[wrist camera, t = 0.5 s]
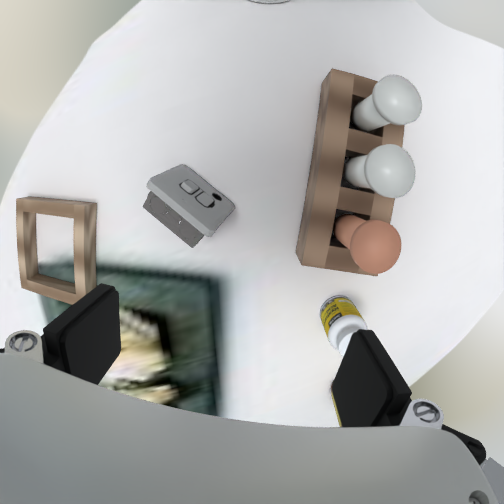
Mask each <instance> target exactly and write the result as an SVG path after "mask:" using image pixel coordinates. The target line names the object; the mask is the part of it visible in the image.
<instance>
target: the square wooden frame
mask: <svg viewBox="0 0 504 504" xmlns="http://www.w3.org/2000/svg"><path fill="white" fill-rule="evenodd" d="M36 213H39V214H46V215H53V216H61V217H68V218H74V271H75V284H74V283H70V282H67V281H63V280H59V279H56V278H52V277H48V276H45V275H41V274H38V263H37V248H36ZM96 213H97V203H91V202H81V201H72V200H62V199H51V198H40V197H23V198H18V199H16V227H17V248H18V261H19V271H20V279H21V287H22V288H24V289H26V290H29V291H32V292H35V293H38V294H41V295H44V296H47V297H50V298H53V299H56V300H59V301H63V302H66V303H69V304H72V305H73V304H74V303H76V302H77V301H78V300H80V299H81V298H82V297H84V296H85V295H86V294H87V293H89V292H90V291H91V290H93V289H94V288H95V287H96Z"/></svg>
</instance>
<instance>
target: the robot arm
mask: <svg viewBox="0 0 504 504" xmlns="http://www.w3.org/2000/svg"><path fill="white" fill-rule="evenodd" d="M250 1H254V2H259V3H281V2H285V1H289V0H250ZM43 332H44V334H43V335H42V336H41V337H40V336H39V335H38V334H37V333H35V332H33V331H29V330H23V331H18V332H15V333H13V334H11V335H10V336H9V337H8V338H7V339H6V342H5V348H3V349H0V504H504V467H502V466H501V465H500V464H498V463H497V462H496V461H494V460H493V459H492V458H489V459H488V460H486V459H485V458H486V451H485V448H484V446H483V445H482V443H481V442H480V441H478V440H476V439H474V438H472V437H469V436H467V435H465V434H463V433H460V432H458V431H456V430H454V429H452V428H450V427H448V426H445V425H443V424H442V423H443V419H444V415H443V412H442V410H441V409H440V407H439V406H438V405H436V404H435V403H433V402H432V401H429V400H426V399H415V400H413V401H412V400H411V399H410V396H411V394H412V392H411V390H410V389H409V387H408V385H407V384H406V382H405V380H404V379H403V377H402V375H401V374H400V372H399V371H398V369H397V367H396V366H395V364H394V363H393V361H392V359H391V358H390V356H389V355H388V353H387V352H386V350H385V348H384V347H383V345H382V344H381V342H380V341H379V339H378V338H377V336H376V335H375V333H374V332H373V331H372V330H364V329H358V330H357V332H354V333H353V334H352V336H351V339H350V341H349V344H348V347H347V349H346V352H345V354H344V357H343V360H342V362H341V365H340V367H339V370H338V372H337V374H336V377H335V379H334V382H333V384H332V393H333V397H334V400H335V404H336V407H337V411H338V414H339V418H340V421H341V425H342V427H305V426H288V425H276V424H266V423H257V422H248V421H241V420H234V419H228V418H222V417H216V416H210V415H205V414H200V413H195V412H190V411H185V410H181V409H176V408H172V407H168V406H164V405H160V404H157V403H153V402H149V401H146V400H142V399H139V398H135V397H132V396H129V395H126V394H122V393H119V392H116V391H113V390H110V389H107V388H104V387H102V386H99V385H98V384H99V382H100V381H101V380H102V378H103V377H104V375H105V374H106V372H107V371H108V370H109V368H110V367H111V365H112V364H113V363H114V361H115V360H116V358H117V357H118V356H119V354H120V351H121V338H120V319H119V293H118V291H116V290H115V287H114V286H110V285H106V284H102V283H101V284H99V285H98V286H97V287H95V288H94V289H93V290H91V291H90V292H89V293H87V294H86V295H85V296H84V297H82V298H81V299H80V300H78V301H77V302H76V303H74V304H73V305H72V306H71V307H69V308H68V309H67V310H66V311H64V312H63V313H62V314H61V315H59V316H58V317H57V318H56V319H54V320H53V321H52V322H51V323H49V324H48V325H47V326H46V327H45V328H43Z"/></svg>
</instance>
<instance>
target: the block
mask: <svg viewBox="0 0 504 504" xmlns="http://www.w3.org/2000/svg"><path fill="white" fill-rule="evenodd" d="M377 83H378V81H375V80H372V79H368V78H365V77H362V76H358V75H355V74H351V73H348V72H344V71H340V70H336V69H331V71H330V72H329V73H328V75H327V76H326V78H325V79H324V81H323V82H322V87H321V95H320V103H319V111H318V118H317V126H316V133H315V140H314V147H313V153H312V160H311V166H310V173H309V179H308V185H307V191H306V197H305V203H304V209H303V215H302V220H301V226H300V231H299V237H298V242H297V248H296V254H297V256H298V259H299V261H300V263H301V265H304V266H310V267H317V268H324V269H331V270H338V271H344V272H351V273H358V274H365V275H372V276H378V274H371V273H368V272H366V271H364V270H363V269H361V268H360V267H359V266H358V265H357V264H356V263H355V262H354V260H353V258H352V256H351V253H350V250H349V249H348V248H347V247H346V246H345V245H343V244H342V243H341V242H340V241H339V240H337V239H335V238H331V234H332V229H333V224H334V219H335V214H336V209H340V210H345V211H350V212H355V213H354V216H356V217H358V218H361V219H363V220H365V221H368V220H375V219H376V220H381V221H384V222H386V223H389V224H390V221H391V216H392V211H393V205H394V200H395V198H389V197H383V196H380V195H378V194H377V193H375V192H374V191H373V190H372V189H371V188H362V187H359V190H354V189H350V188H345V187H340V185H341V179H342V173H343V166H344V160H345V156H346V157H351V158H354V157H359V156H364V155H368V154H369V153H370V152H371V151H372V150H373V149H374V148H376V147H378V146H382V145H386V144H394V145H398V146H400V147H402V144H403V135H404V125H394V124H391V123H390V124H387V125H385V126H382V127H379V128H377V129H374V130H372V131H369V132H367V133H365V132H362V131H358V130H354V129H350V128H349V122H350V114H351V109H353V107H355V106H356V105H357V104H359V103H360V102H362V101H363V100H364V99H366V98H367V97H369V96H370V95H371V94H372V92H373V88H374V86H375V85H376V84H377Z"/></svg>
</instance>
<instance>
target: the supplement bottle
mask: <svg viewBox="0 0 504 504" xmlns="http://www.w3.org/2000/svg"><path fill="white" fill-rule="evenodd" d="M320 317H321V321H322V324H323V326H324V329H325V332H326V334H327V337H328V340H329V342H330V344H331V346H332V347H333V348H334V349H336V350H338V351H339V353H340V354H341V356H343V357H344V354H345V352H346V349H347V347H348V344H349V341H350V339H351V336H352V334H353V333H354V332H357V330H358V329H364V330H368V329H367V325H366V323H365V321H364V319H363V318H362V316H361V315H360V313H359V312H358V310H357V309H356V307H355V305H354V304H353V303H352V301H351V300H350V299H348V298H347V297H344V296H335V297H332V298H330V299H329V300H327V301H326V302H325V303H324V305H323V306H322V308H321V311H320Z"/></svg>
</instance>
